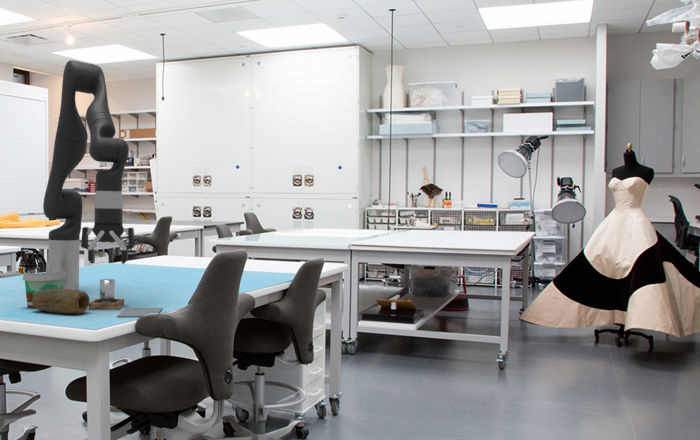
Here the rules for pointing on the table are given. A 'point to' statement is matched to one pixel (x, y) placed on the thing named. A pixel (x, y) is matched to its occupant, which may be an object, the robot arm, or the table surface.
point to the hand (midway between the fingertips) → (108, 263)
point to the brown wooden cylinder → (61, 301)
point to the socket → (106, 305)
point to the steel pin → (107, 290)
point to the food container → (42, 283)
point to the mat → (138, 312)
